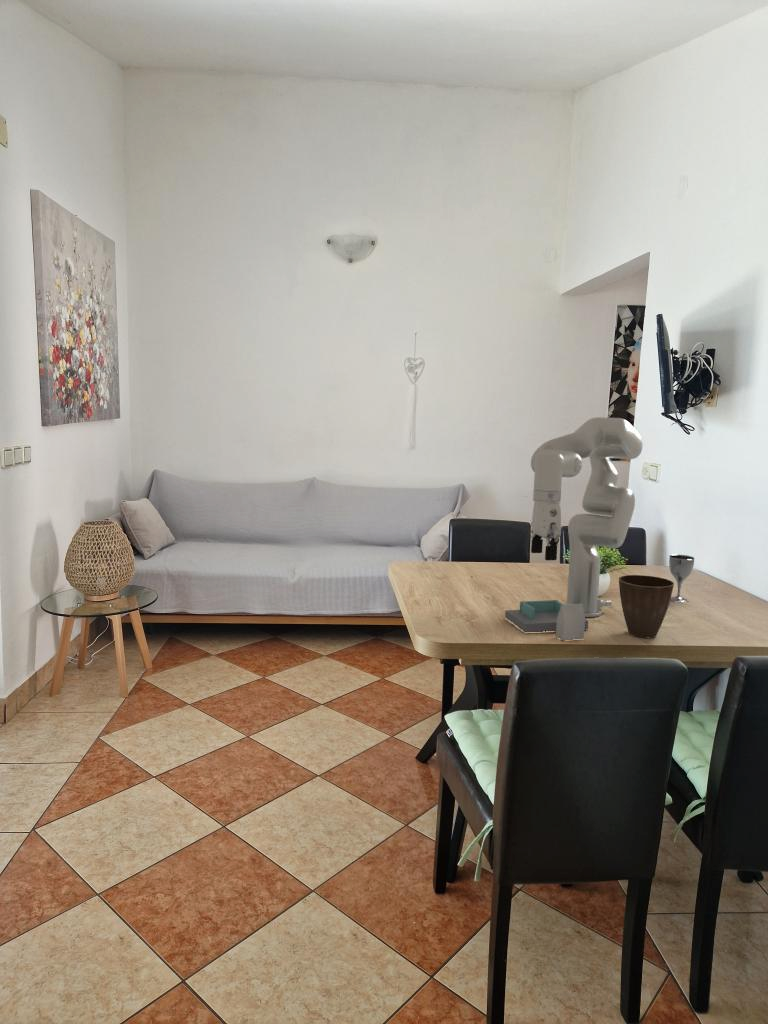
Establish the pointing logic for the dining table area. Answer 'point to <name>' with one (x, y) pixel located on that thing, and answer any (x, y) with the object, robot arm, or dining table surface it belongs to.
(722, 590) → the dining table surface
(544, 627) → the dock
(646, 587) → the plant pot
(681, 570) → the wine glass
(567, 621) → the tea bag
